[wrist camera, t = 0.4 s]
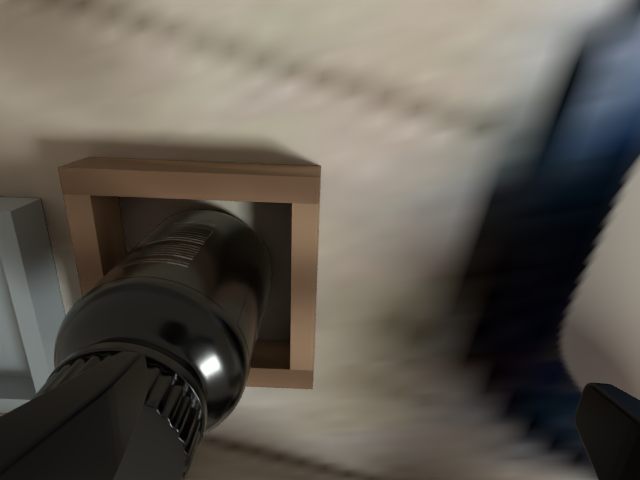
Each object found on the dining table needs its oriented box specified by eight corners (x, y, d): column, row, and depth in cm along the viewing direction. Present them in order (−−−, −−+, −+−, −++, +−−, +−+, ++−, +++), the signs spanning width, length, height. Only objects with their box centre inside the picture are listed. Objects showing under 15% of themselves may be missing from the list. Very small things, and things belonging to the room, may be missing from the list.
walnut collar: (314, 359, 25) (312, 388, 22) (120, 351, 25) (98, 380, 22) (321, 166, 21) (320, 177, 18) (88, 157, 21) (57, 167, 18)
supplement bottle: (130, 290, 23) (-51, 488, 12) (172, 183, 21) (-3, 304, 10) (244, 339, 24) (173, 563, 13) (296, 242, 22) (263, 412, 11)
